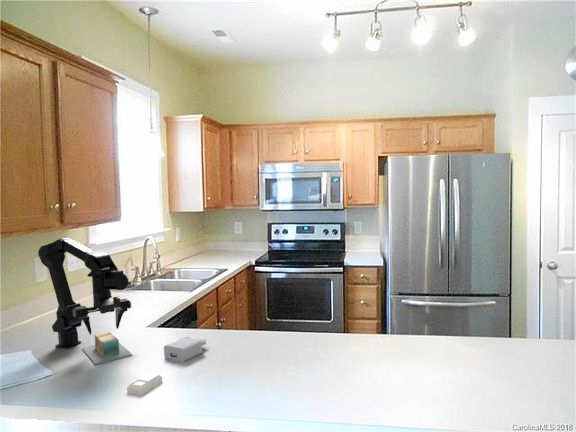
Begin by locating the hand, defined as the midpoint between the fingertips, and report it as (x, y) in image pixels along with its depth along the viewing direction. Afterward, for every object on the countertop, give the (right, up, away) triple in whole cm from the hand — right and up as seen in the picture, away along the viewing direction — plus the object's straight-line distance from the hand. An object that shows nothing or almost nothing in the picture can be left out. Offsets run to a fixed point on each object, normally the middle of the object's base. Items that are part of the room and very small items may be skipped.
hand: (104, 331), depth 152 cm
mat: (+2, -7, -2) cm, 7 cm away
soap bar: (+26, -8, -32) cm, 42 cm away
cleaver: (+25, -7, +3) cm, 25 cm away
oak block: (-2, -4, +3) cm, 6 cm away
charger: (+33, -6, -6) cm, 34 cm away
